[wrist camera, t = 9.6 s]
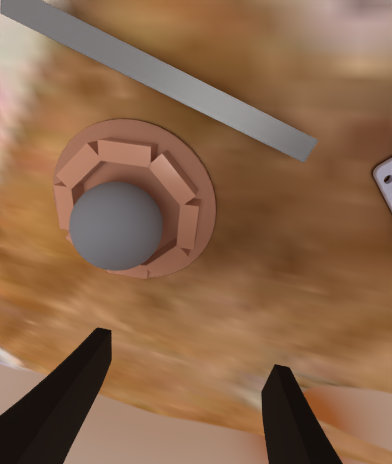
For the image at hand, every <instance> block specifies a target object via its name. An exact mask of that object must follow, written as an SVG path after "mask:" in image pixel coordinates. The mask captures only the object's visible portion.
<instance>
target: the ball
mask: <svg viewBox="0 0 392 464" xmlns="http://www.w3.org/2000/svg"><path fill="white" fill-rule="evenodd" d="M69 231H70V236H71V240H72V242H73V244H74V246H75V248H76V250H77V251H78V253H79V254H80V255H81V256H82V257H83V258H84V259H85V260H86V261H88V262H89V263H91V264H92V265H94V266H96V267H99V268H102V269H105V270H111V271H122V270H128V269H131V268H134V267H136V266H139V265H140V264H142V263H144V262H145V261H146V260H148V259H149V258H150V257H151V256H152V255H153V253H154V252H155V251H156V249H157V247H158V246H159V243H160V241H161V238H162V233H163V220H162V215H161V212H160V209H159V207H158V205H157V204H156V202H155V201H154V199H153V198H152V197H151V196H150V195H149V194H148V193H147V192H145V191H144V190H143V189H141V188H139V187H137V186H135V185H133V184H130V183H125V182H118V181H114V182H106V183H102V184H99V185H96V186H94V187H92V188H91V189H89V190H88V191H86V192H85V193H84V194H83V195H82V196H81V197H80V198H79V199H78V200H77V202H76V203H75V205H74V207H73V210H72V212H71V215H70V221H69Z"/></svg>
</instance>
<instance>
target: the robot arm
mask: <svg viewBox="0 0 392 464" xmlns="http://www.w3.org/2000/svg"><path fill="white" fill-rule="evenodd" d="M388 175H389V176H390V178H389V180H388V181H386V182H384V178H385V177H386V176H388ZM373 176H374V178H375V180H376V182H377V184H378V186H379V188H380V190H381V192H382V194H383V196H384V198H385V200H386V202H387V204H388V206H389V208H390V210H391V212H392V158H390V159H388V160H386V161H385V162H383V163H381V164H380V165H378V166H377V167H376V168H375V169H374V171H373ZM111 360H112V349H111V330H108V329H103V328H96V329H95V330H94V331H93V332H92V333H91V334H90V335H89V336H88V337H87V338H86V339H85V340H84V341H83V342H82V343H81V345H80V346H79V347H78V348H77V349H76V350H74V351H73V352H72V353H71V354H70V355H69V356H68V357H67V358H66V359H65V360H64V361H63V362H62V363H61V364H60V365H59V366H58V367H57V368H56V369H55V370H54V371H52V372H51V373H50V374H49V375H48V376H47V377H46V378H45V379H44V380H42V381H41V382H40V383H39V384H38V385H37V386H36V387H34V388H33V389H32V390H31V391H30V392H29V393H27V394H26V395H25V396H24V397H23V398H22V399H21V400H19V401H18V402H17V403H15V404H14V405H13V406H12V407H10V408H9V409H8V410H7V411H5V412H4V413H3V414H2V415H0V464H63V463H64V460H65V458H66V456H67V454H68V452H69V449H70V448H71V446H72V444H73V442H74V439H75V438H76V436H77V434H78V432H79V430H80V428H81V426H82V424H83V422H84V420H85V418H86V416H87V414H88V412H89V410H90V408H91V406H92V404H93V402H94V400H95V398H96V396H97V394H98V392H99V390H100V388H101V386H102V384H103V381H104V379H105V376H106V374H107V371H108V368H109V366H110V363H111ZM261 393H262V416H263V426H264V433H265V440H266V447H267V454H268V460H269V464H343V463H342V462H341V460H340V458H339V457H338V455H337V453H336V452H335V450H334V449H333V447H332V445H331V443H330V442H329V440H328V438H327V437H326V435H325V433H324V431H323V429H322V428H321V426H320V424H319V422H318V421H317V419H316V417H315V415H314V414H313V412H312V410H311V408H310V406H309V404H308V402H307V400H306V398H305V397H304V395H303V393H302V391H301V389H300V387H299V385H298V383H297V381H296V379H295V377H294V375H293V373H292V371H291V369H290V368H289V367H286V366H281V365H276V364H275V365H274V367H273V369H272V371H271V373H270V375H269V377H268V379H267V382H266V384H265V386H264V388H263V390H262V392H261Z"/></svg>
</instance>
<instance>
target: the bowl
mask: <svg viewBox="0 0 392 464" xmlns="http://www.w3.org/2000/svg"><path fill="white" fill-rule="evenodd" d="M114 181H118V182H125V183H130V184H133V185H135V186H137V187H139V188H141V189H143V190H144V191H145V192H147V193H148V194H149V195H150V196H151V197H152V198H153V199H154V201H155V202H156V204H157V205H158V207H159V209H160V212H161V215H162V220H163V233H162V238H161V241H160V243H159V246H158V247H157V249H156V251H155V252H154V253H153V255H152V256H151V257H150V258H149V259H148V260H146V261H145V262H144V263H142V264H140V265H139V266H136V267H134V268H131V269H128V270H122V271H111V270H106V272H108V273H114V274H120V275H126V276H132V277H138V278H144V279H147V278H148V277H160V276H164V275H169V274H172V273H174V272H177V271H179V270H181V269H183V268H185V267H186V266H188V265H189V264H191V263H192V262H193V261H194V260H195V259H196V258H197V257H198V256H199V255H200V254H201V253H202V252H203V250H204V249H205V247H206V246H207V244H208V242H209V240H210V238H211V235H212V233H213V229H214V225H215V217H216V198H215V193H214V188H213V185H212V182H211V179H210V177H209V175H208V172H207V170H206V168H205V167H204V165H203V164H202V162H201V160H200V159H199V157H198V156H197V155H196V154H195V153H194V152H193V150H192V149H191V148H190V147H189V146H188V145H187V144H186V143H184V142H183V141H182V140H181V139H180V138H178V137H177V136H175V135H174V134H173V133H171V132H169V131H167V130H165V129H164V128H162V127H160V126H157V125H154V124H151V123H149V122H144V121H140V120H133V119H117V120H107V121H104V122H100V123H96V124H94V125H92V126H89V127H87V128H86V129H84V130H82V131H81V132H79V133H78V134H77V135H76V136H75V137H74V138H72V139H71V140H70V141H69V143H68V144H67V145H66V147H65V148H64V149H63V151H62V153H61V155H60V157H59V159H58V162H57V165H56V168H55V173H54V179H53V192H54V200H55V204H56V209H57V211H58V217H59V224H60V229H66V231H67V232H68V234H69V235H67V236H66V237H65V238H66V239H67V240H69V241H70V242H71V243H72V244H73V242H72V240H71V236H70V231H69V221H70V215H71V212H72V210H73V207H74V205H75V203H76V202H77V200H78V199H79V198H80V197H81V196H82V195H83V194H84V193H85V192H86V191H88V190H89V189H91V188H92V187H94V186H96V185H99V184H102V183H106V182H114ZM73 245H74V244H73ZM97 268H98V267H97Z"/></svg>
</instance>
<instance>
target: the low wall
mask: <svg viewBox="0 0 392 464" xmlns="http://www.w3.org/2000/svg"><path fill="white" fill-rule="evenodd" d="M0 13H1V14H3V15H5V16H7V17H9V18H11V19H13V20H15V21H17V22H19V23H21V24H23V25H25V26H27V27H29V28H31V29H33V30H35V31H37V32H39V33H41V34H43V35H45V36H47V37H49V38H51V39H53V40H55V41H58V42H60V43H62V44H64V45H66V46H68V47H70V48H72V49H74V50H76V51H78V52H80V53H82V54H84V55H86V56H88V57H90V58H92V59H94V60H96V61H98V62H100V63H102V64H104V65H106V66H108V67H110V68H112V69H114V70H116V71H118V72H120V73H123V74H125V75H127V76H129V77H131V78H133V79H135V80H137V81H139V82H141V83H143V84H145V85H147V86H149V87H151V88H153V89H155V90H157V91H159V92H161V93H163V94H165V95H167V96H169V97H171V98H173V99H175V100H177V101H179V102H181V103H183V104H185V105H188V106H190V107H192V108H194V109H196V110H198V111H200V112H202V113H204V114H206V115H208V116H210V117H212V118H214V119H216V120H218V121H220V122H222V123H224V124H226V125H228V126H230V127H232V128H234V129H236V130H238V131H240V132H242V133H244V134H246V135H248V136H250V137H252V138H255V139H257V140H259V141H261V142H263V143H265V144H267V145H269V146H271V147H273V148H275V149H277V150H279V151H281V152H283V153H285V154H287V155H289V156H291V157H293V158H295V159H297V160H299V161H301V162H303V163H304V162H305V160H306V159H307V157H308V156H309V154H310V152H311V151H312V149H313V148H314V146H315V145H316V143H317V142H318V140H317V139H315V138H313V137H311V136H309V135H307V134H305V133H303V132H301V131H299V130H297V129H295V128H293V127H291V126H289V125H287V124H285V123H283V122H281V121H279V120H277V119H275V118H273V117H271V116H269V115H267V114H265V113H263V112H261V111H259V110H257V109H256V108H254V107H252V106H250V105H248V104H246V103H244V102H242V101H240V100H238V99H236V98H234V97H232V96H230V95H228V94H226V93H224V92H222V91H220V90H218V89H216V88H214V87H212V86H210V85H208V84H206V83H204V82H202V81H200V80H198V79H196V78H194V77H192V76H190V75H188V74H186V73H184V72H182V71H180V70H178V69H176V68H174V67H172V66H170V65H168V64H166V63H164V62H162V61H160V60H158V59H156V58H154V57H152V56H150V55H148V54H147V53H145V52H143V51H141V50H139V49H137V48H135V47H133V46H131V45H129V44H127V43H125V42H123V41H121V40H119V39H117V38H115V37H113V36H111V35H109V34H107V33H105V32H103V31H101V30H99V29H97V28H95V27H93V26H91V25H89V24H87V23H85V22H83V21H81V20H79V19H77V18H75V17H73V16H71V15H69V14H67V13H65V12H63V11H61V10H59V9H57V8H55V7H53V6H51V5H49V4H47V3H45V2H43V1H41V0H1V7H0Z"/></svg>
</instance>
